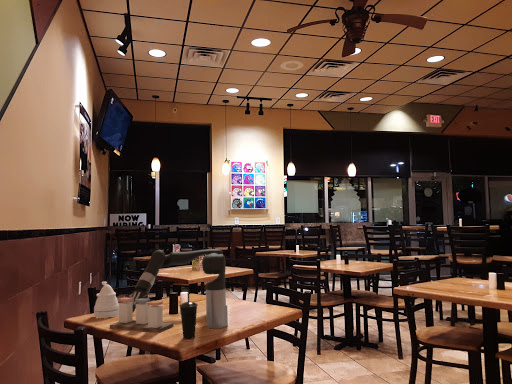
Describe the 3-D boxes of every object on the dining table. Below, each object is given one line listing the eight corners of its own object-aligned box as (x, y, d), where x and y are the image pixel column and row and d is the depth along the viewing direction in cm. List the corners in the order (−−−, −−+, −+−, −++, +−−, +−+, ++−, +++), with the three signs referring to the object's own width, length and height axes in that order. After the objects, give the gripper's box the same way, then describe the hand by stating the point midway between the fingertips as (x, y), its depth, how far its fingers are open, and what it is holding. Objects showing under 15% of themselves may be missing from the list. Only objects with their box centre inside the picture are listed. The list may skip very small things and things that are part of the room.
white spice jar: (132, 320, 199) (132, 297, 200) (127, 322, 195) (127, 299, 196) (124, 320, 201) (124, 297, 202) (118, 322, 197) (118, 299, 198)
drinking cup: (199, 334, 178) (198, 287, 179) (197, 339, 170) (196, 290, 172) (181, 335, 178) (180, 288, 179) (178, 340, 170) (178, 291, 171)
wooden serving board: (173, 326, 194) (173, 323, 194) (159, 332, 183) (159, 329, 183) (125, 322, 204) (125, 319, 204) (109, 328, 194) (109, 324, 194)
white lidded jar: (150, 322, 196) (149, 298, 196) (144, 324, 192) (144, 300, 193) (141, 321, 198) (140, 298, 198) (135, 323, 194) (135, 299, 194)
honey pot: (88, 317, 218) (88, 283, 220) (107, 312, 230) (107, 279, 231) (105, 319, 212) (105, 284, 214) (124, 314, 224) (124, 280, 225)
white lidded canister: (162, 325, 188) (162, 301, 189) (157, 327, 184) (157, 303, 185) (153, 324, 190) (153, 300, 191) (147, 327, 186) (147, 302, 187)
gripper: (159, 288, 214) (144, 317, 201) (138, 287, 219) (122, 315, 206) (152, 279, 209) (137, 308, 197) (131, 278, 214) (115, 307, 202)
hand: (130, 312), depth 202 cm, fingers closed
